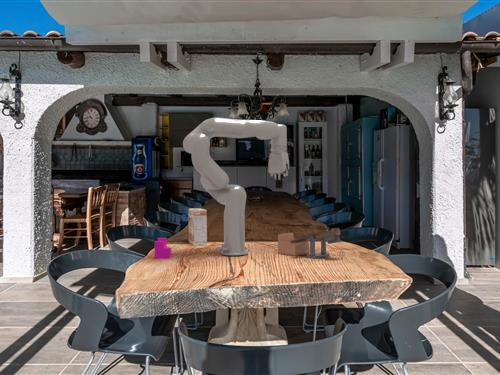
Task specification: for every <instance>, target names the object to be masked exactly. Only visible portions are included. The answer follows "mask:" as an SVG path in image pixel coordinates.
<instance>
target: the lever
mask: <svg viewBox="0 0 500 375" xmlns="http://www.w3.org/2000/svg"><path fill="white" fill-rule="evenodd" d="M340 235H342V234H341V229H340V228H339V227H334V228H333V227H332V228H330V230H329V229H328V230H322V231H318V232H314V233H310V234H305V235H300V236H295V237H294V239H295V240H293V241H290V243H299V242H306V241H308V242H310V236H315V241H317V240H321V238H326V243H327V244H335V243H341V238H340Z"/></svg>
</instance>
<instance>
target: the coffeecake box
mask: <svg viewBox="0 0 500 375" xmlns="http://www.w3.org/2000/svg"><path fill="white" fill-rule="evenodd" d="M187 211H188V212H187V213H188V216H187V217H188V243H189V244H191V245H192V246H193V247H200V246H203V247H204V246H206V247H207V245H208V227H207V224H208V223H207V222H208V217H207V213H208V211H207V209H204V208H196V207H195V208H188V210H187Z"/></svg>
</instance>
